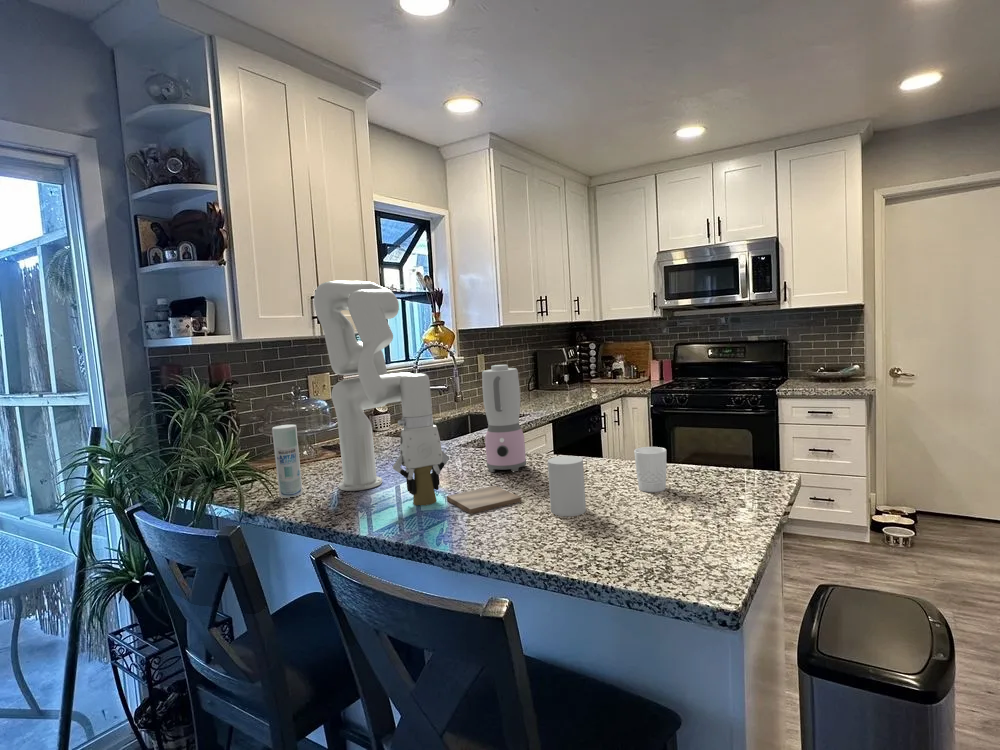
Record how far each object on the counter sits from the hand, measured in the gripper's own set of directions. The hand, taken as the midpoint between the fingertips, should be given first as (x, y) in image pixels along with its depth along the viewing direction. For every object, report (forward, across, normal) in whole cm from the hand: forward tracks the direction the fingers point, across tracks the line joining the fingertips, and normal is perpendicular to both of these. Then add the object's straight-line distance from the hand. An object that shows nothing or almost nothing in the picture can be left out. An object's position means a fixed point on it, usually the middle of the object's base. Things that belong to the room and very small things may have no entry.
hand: (423, 490), depth 148 cm
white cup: (+3, +50, -30) cm, 58 cm away
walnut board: (+3, +12, -10) cm, 16 cm away
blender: (+3, +32, +14) cm, 35 cm away
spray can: (+3, -28, +33) cm, 43 cm away
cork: (+3, 0, 0) cm, 3 cm away
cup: (+3, +24, -30) cm, 39 cm away
